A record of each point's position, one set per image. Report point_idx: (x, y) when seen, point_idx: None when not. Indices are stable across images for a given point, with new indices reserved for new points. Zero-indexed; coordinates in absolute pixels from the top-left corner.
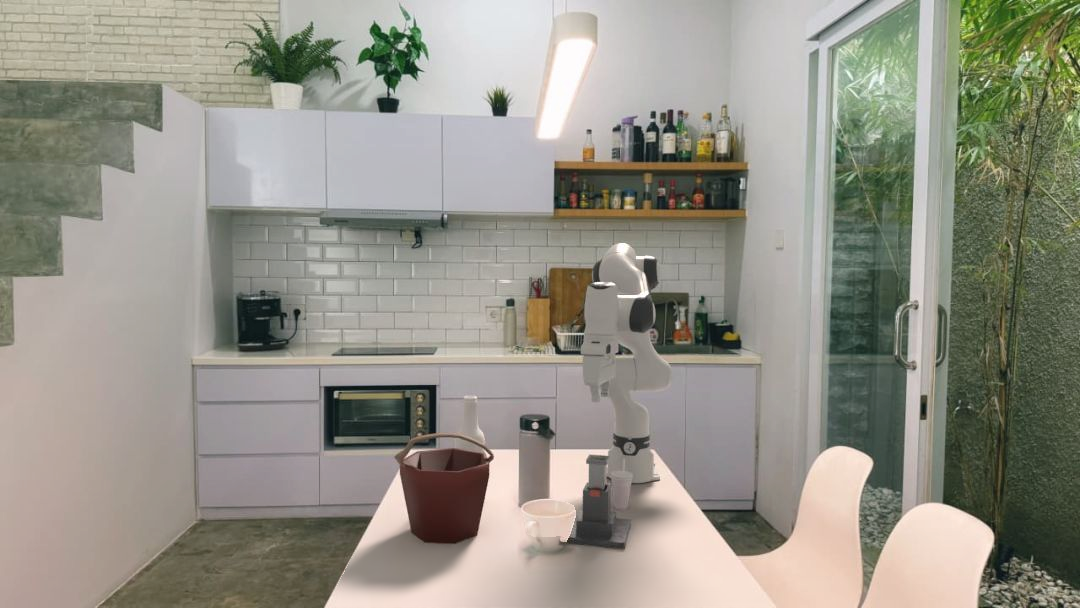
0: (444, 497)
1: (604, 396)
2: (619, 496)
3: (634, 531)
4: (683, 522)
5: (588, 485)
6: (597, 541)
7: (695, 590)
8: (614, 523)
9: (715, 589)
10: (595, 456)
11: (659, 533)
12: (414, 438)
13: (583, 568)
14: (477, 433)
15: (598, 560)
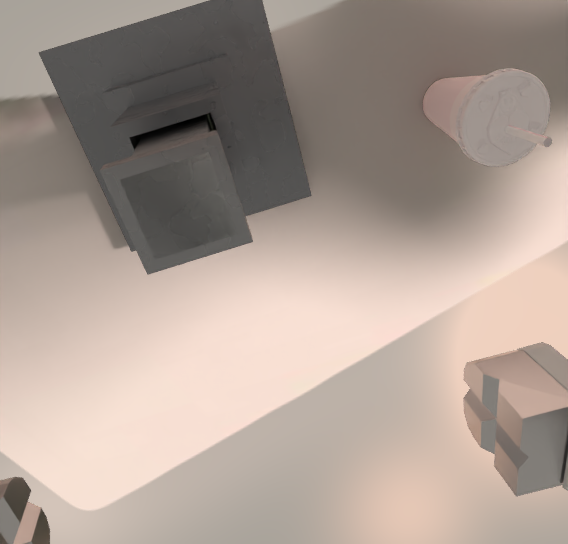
0: None
1: (468, 397)
2: (437, 113)
3: (267, 217)
4: (393, 297)
5: (137, 146)
6: (97, 177)
7: (35, 437)
8: None
9: (68, 459)
10: (198, 184)
11: (289, 276)
12: None
13: None
14: None
15: (15, 218)
